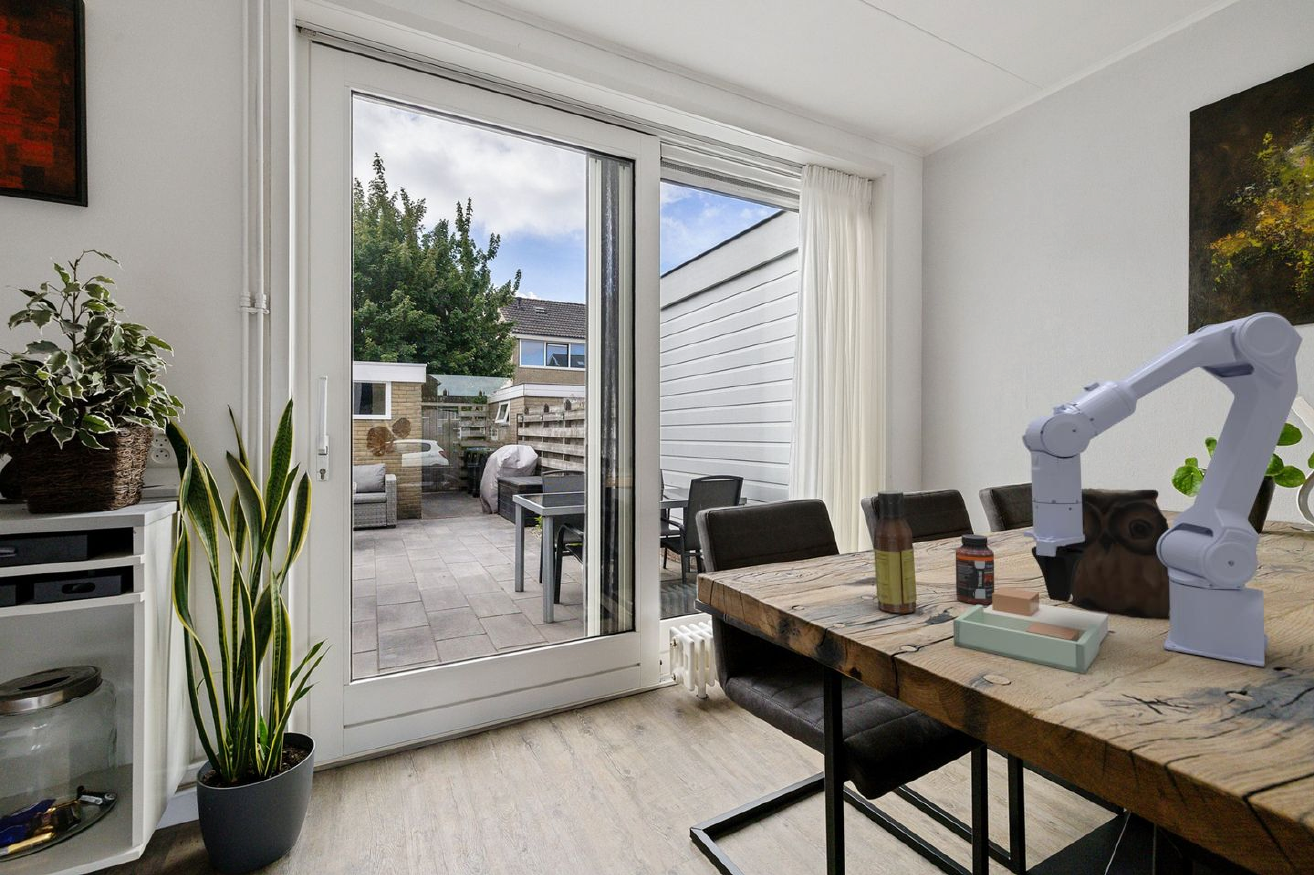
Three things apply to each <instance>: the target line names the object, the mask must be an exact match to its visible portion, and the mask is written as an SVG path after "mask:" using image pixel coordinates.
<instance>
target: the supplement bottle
mask: <svg viewBox="0 0 1314 875" xmlns="http://www.w3.org/2000/svg"><path fill="white" fill-rule="evenodd" d="M960 543H961V544H962V545H960V546H959V547H957V548H956V550H955V588H956V589H955V590H956V592H955V593H956V598H957V599H958V600H960V601H961V602H965V603H968V604H975V605H977V604H978V605H991V604H992V593H994V592H995V554H994V552H993V550H992V549H991V548H989V546H988V544H989V543H988V537H987V536H986V535H981V534H963V535H961V541H960Z"/></svg>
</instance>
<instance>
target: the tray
mask: <svg viewBox="0 0 1314 875" xmlns="http://www.w3.org/2000/svg"><path fill="white" fill-rule="evenodd" d="M983 610H984V604H975V605H974V606H973V607H971V608H969V609H968V610H966V611H965V612H963V613H962V614H960V615H959V616H957V617H956V618H954V619H953V620H952V621H953V624H952V625H953V645H954V646H956V647H957V646H958V647H961V648H965V649H970V650H975V651H979V652H984V653H989V654H994V655H999V656H1002V657H1007V658H1010V659H1016V660H1020V661H1025V662H1029V663H1033V664H1037V665H1043V666H1048V667H1052V668H1055V669H1056V668H1057V669H1061V670H1065V671H1071V672H1075V673H1078V674H1082V675H1084V674H1085V673H1086V672H1087V670H1088V669H1089V667H1090V666H1091V664H1092V663H1093V662H1094V660H1095V659H1096V657H1097V655H1099V653H1100V644H1099V625H1094V624H1091V626H1090V627H1089V628H1088V629H1087V630H1086V632H1085V633H1084V634H1083V635H1082V636H1081V638H1080V639H1079V640H1078V641H1077V642H1075V641H1070V640H1064V639H1059V638H1054V637H1049V636H1044V635H1038V634H1033V633H1028V632H1023V631H1018V630H1012V629H1007V628H1002V627H997V626H991V625H986V624H983Z"/></svg>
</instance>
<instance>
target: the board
mask: <svg viewBox="0 0 1314 875" xmlns="http://www.w3.org/2000/svg"><path fill="white" fill-rule="evenodd" d="M1035 622H1039V623H1044V624H1050V625H1055V626H1061V627H1067V628H1072V629H1078V630H1079V639H1080V638H1081V636H1082V635H1083V634H1084V633H1085V632H1086V630H1087V629H1088V628H1089V627H1090V626H1091V624H1094V625H1099V645H1100V644H1101V643H1102V641H1103V640H1104V639H1105V637H1106V636H1107V634H1109V614H1105V613H1099V612H1094V611H1088V610H1080V609H1074V608H1067V607H1061V606H1057V605H1056V606H1055V605H1048V604H1043V603H1039V610H1037V611H1036V612H1035V613H1034V614H1033V615H1032V616H1024V615H1018V614H1013V613H1007V612H1001V611H995V610H993V608H992V604H989V606H987V607H986V608H983V624H986V625H991V626H997V627H1002V628H1007V629H1012V630H1018V631H1023V632H1026V630H1027V629H1029V628H1030V627H1031V626H1032V625H1033V624H1034V623H1035Z"/></svg>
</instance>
